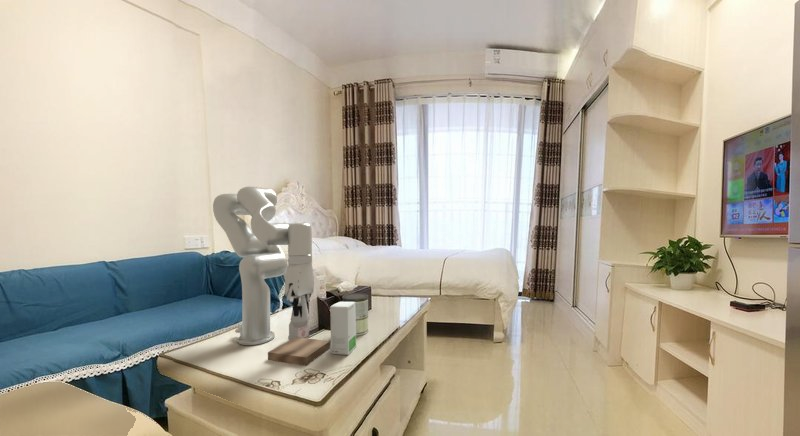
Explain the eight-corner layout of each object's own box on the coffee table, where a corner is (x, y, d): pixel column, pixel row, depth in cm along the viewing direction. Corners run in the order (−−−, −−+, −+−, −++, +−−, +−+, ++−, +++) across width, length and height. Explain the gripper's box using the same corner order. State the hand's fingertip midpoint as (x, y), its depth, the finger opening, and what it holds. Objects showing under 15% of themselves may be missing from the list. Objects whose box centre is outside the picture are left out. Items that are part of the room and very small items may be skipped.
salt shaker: (291, 329, 99) (291, 288, 100) (290, 324, 104) (289, 285, 105) (310, 327, 102) (310, 286, 102) (308, 322, 107) (307, 283, 107)
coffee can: (338, 335, 120) (338, 298, 120) (347, 326, 130) (346, 292, 131) (365, 336, 119) (364, 299, 119) (371, 327, 129) (370, 293, 129)
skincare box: (348, 355, 101) (347, 307, 102) (329, 354, 103) (328, 306, 103) (356, 346, 109) (356, 301, 110) (339, 344, 111) (338, 300, 111)
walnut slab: (267, 360, 98) (267, 352, 98) (295, 344, 112) (295, 337, 112) (306, 365, 94) (306, 357, 94) (330, 348, 108) (330, 340, 108)
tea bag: (288, 341, 115) (288, 313, 115) (300, 335, 121) (300, 309, 121) (297, 342, 113) (297, 314, 114) (308, 336, 120) (308, 310, 120)
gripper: (305, 258, 113) (305, 309, 112) (273, 263, 97) (274, 323, 96) (323, 258, 110) (324, 310, 110) (294, 263, 95) (295, 324, 94)
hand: (301, 316), depth 103 cm, fingers closed on salt shaker, 3 cm apart
